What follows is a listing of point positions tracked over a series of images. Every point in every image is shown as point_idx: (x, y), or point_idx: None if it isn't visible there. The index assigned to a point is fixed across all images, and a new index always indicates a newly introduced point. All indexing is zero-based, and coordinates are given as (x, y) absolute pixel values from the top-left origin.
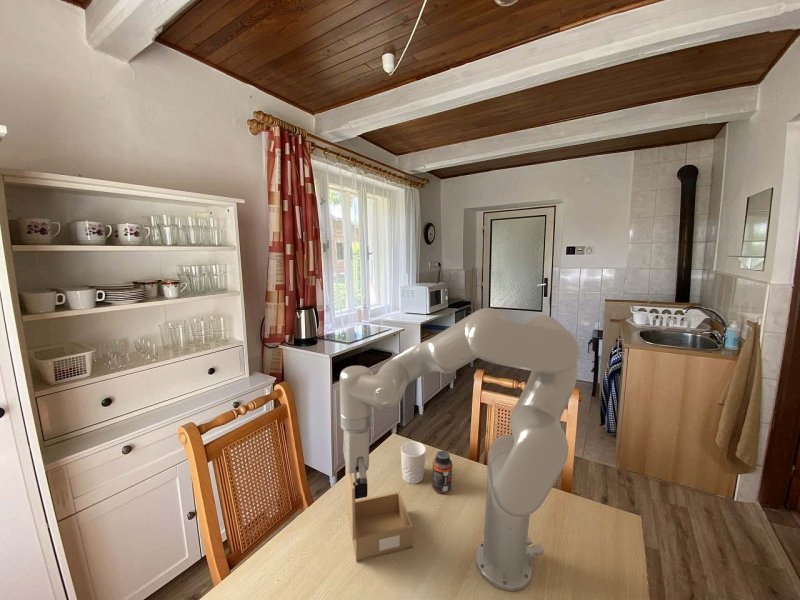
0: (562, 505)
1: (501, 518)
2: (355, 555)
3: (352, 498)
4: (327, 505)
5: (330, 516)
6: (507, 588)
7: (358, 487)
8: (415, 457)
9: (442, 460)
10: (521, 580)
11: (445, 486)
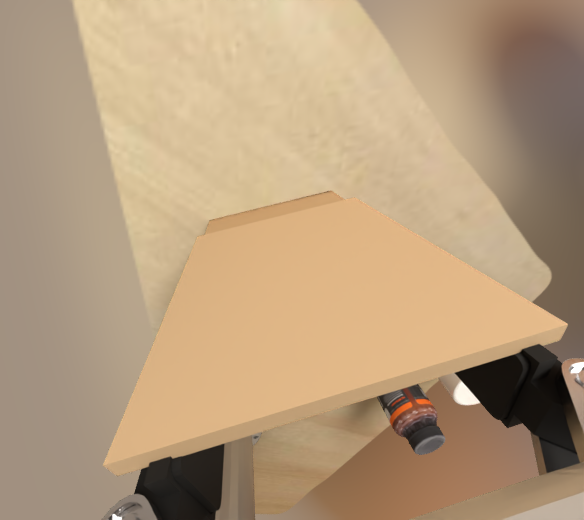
0: (313, 476)
1: None
2: (225, 216)
3: (142, 370)
4: (402, 113)
5: (358, 129)
6: None
7: (142, 482)
8: (452, 386)
9: (413, 440)
10: None
11: None
